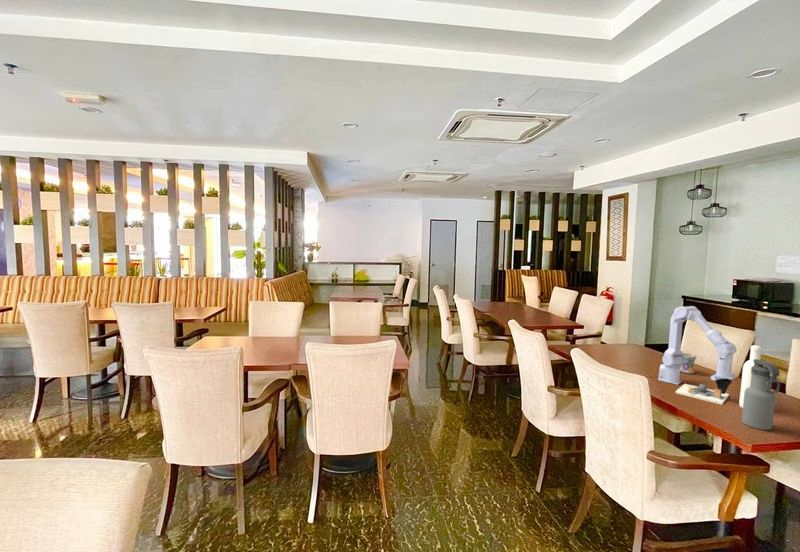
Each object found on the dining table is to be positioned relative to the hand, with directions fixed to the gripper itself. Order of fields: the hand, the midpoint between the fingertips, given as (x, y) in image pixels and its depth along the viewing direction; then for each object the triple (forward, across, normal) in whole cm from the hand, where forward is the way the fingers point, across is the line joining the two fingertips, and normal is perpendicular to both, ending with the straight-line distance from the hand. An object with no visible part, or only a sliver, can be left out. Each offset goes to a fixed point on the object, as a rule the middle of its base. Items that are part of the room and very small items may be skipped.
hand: (721, 393), depth 199 cm
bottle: (+3, +1, -12) cm, 12 cm away
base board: (+3, -4, +7) cm, 8 cm away
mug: (+3, +25, +38) cm, 45 cm away
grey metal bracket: (+2, -4, +4) cm, 6 cm away
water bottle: (+3, -17, -26) cm, 32 cm away
